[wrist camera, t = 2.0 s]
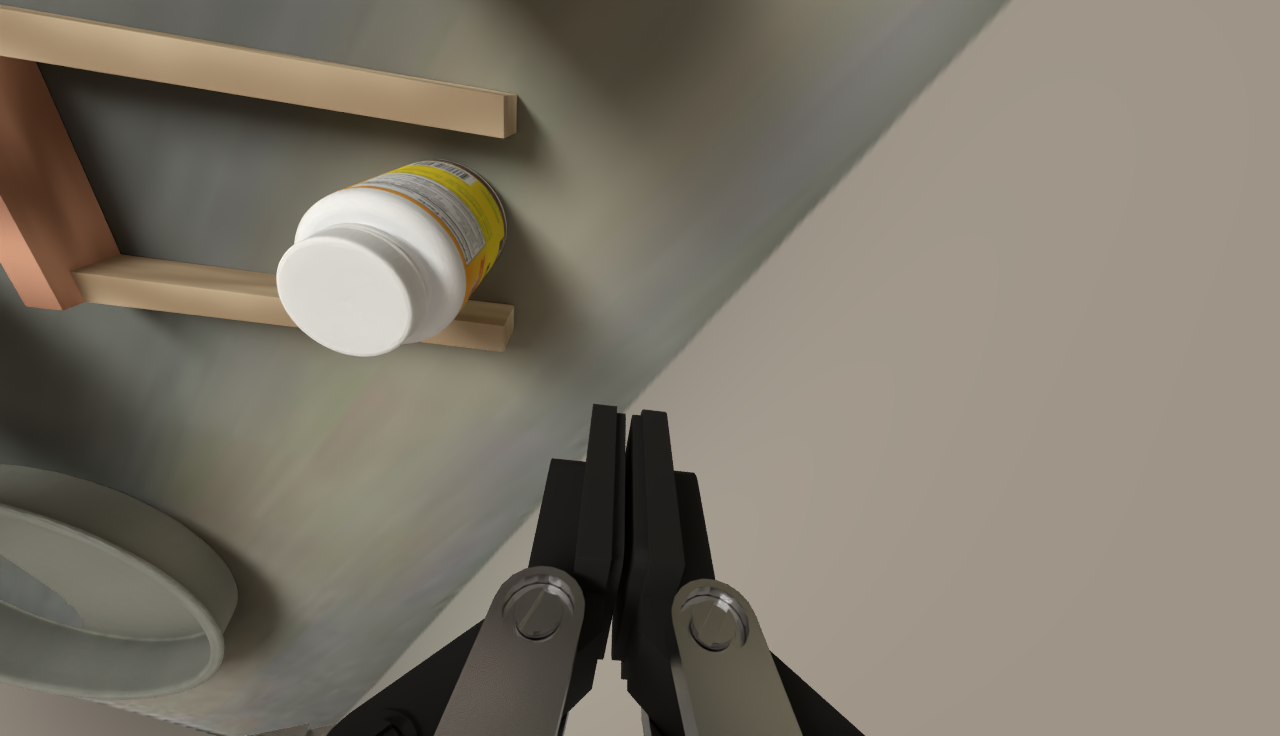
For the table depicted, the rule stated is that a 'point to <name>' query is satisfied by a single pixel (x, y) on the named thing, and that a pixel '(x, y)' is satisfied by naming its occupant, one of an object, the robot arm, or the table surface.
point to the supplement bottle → (391, 257)
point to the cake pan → (109, 592)
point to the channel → (43, 153)
